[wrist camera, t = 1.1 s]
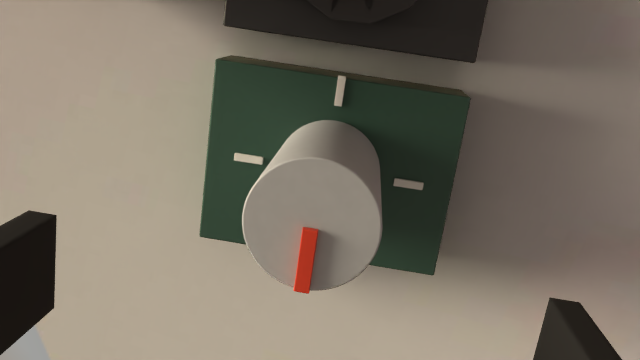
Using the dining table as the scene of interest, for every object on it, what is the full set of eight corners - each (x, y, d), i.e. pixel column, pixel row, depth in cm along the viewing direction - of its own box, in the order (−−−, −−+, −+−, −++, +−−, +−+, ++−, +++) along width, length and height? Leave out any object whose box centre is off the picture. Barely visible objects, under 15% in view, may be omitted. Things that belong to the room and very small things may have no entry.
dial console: (230, 53, 31) (214, 56, 28) (462, 88, 30) (472, 95, 27) (214, 220, 33) (198, 240, 30) (428, 255, 33) (433, 279, 30)
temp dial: (283, 112, 28) (247, 148, 20) (388, 128, 28) (393, 171, 20) (270, 211, 29) (232, 282, 21) (370, 227, 29) (370, 305, 21)
